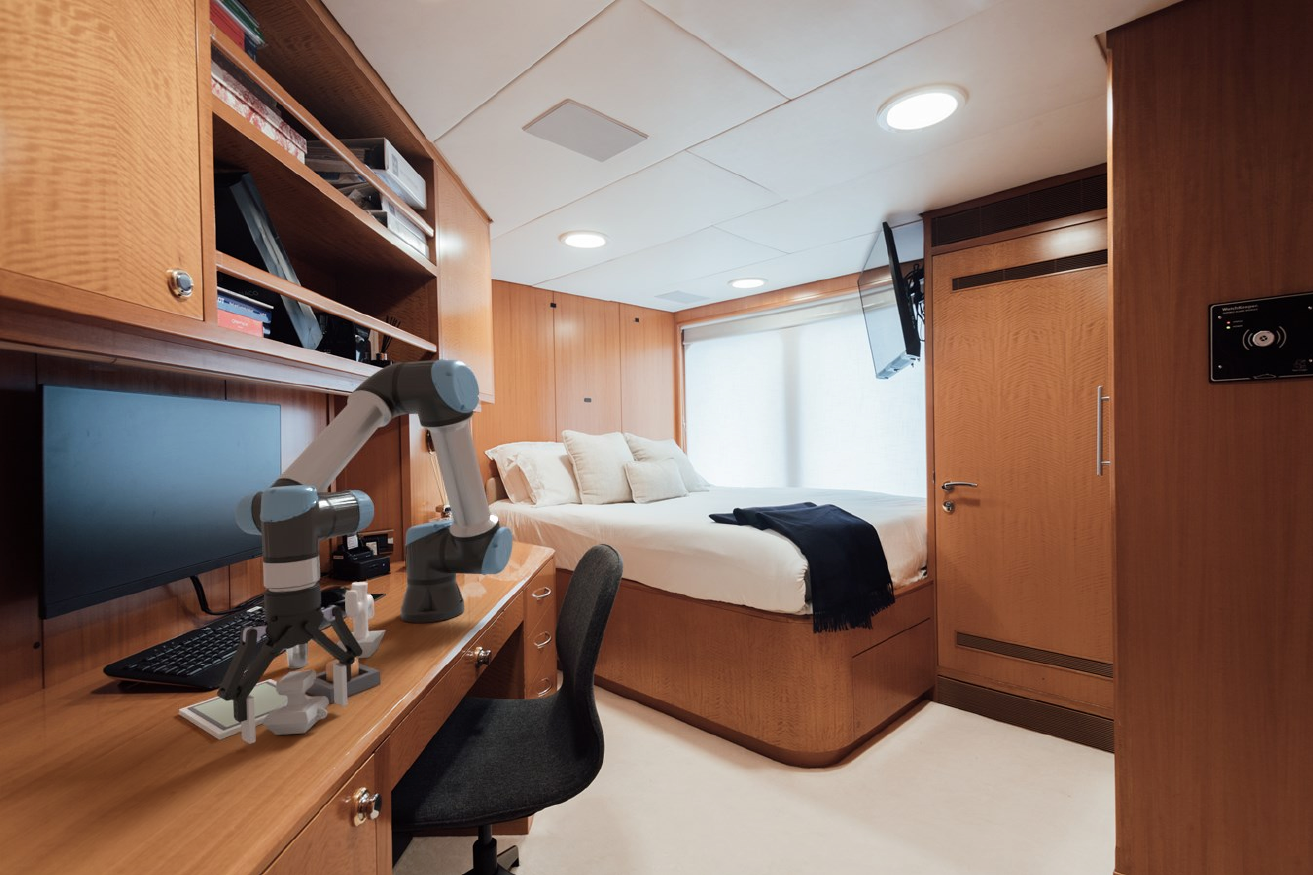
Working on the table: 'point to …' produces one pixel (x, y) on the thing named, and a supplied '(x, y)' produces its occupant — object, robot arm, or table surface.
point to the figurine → (362, 619)
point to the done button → (330, 664)
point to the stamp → (296, 705)
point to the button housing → (357, 684)
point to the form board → (232, 710)
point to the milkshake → (297, 656)
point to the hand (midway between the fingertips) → (297, 721)
